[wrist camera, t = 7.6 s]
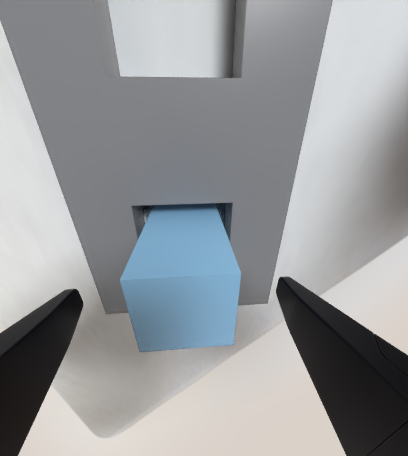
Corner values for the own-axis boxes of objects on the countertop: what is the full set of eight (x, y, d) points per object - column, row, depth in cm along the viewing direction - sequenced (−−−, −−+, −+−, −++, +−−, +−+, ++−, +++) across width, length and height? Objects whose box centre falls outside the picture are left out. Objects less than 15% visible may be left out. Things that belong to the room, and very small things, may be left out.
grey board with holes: (347, -227, 6) (413, -375, 4) (258, 284, 16) (267, 303, 14) (-57, -277, 5) (-180, -479, 4) (115, 293, 16) (106, 313, 14)
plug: (215, 202, 13) (241, 273, 6) (213, 258, 15) (232, 352, 9) (154, 204, 12) (119, 280, 6) (161, 261, 14) (142, 360, 8)
